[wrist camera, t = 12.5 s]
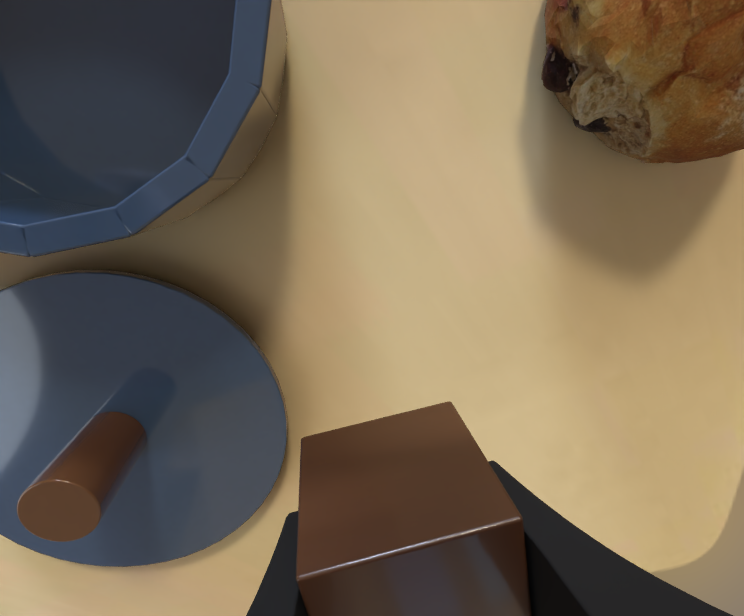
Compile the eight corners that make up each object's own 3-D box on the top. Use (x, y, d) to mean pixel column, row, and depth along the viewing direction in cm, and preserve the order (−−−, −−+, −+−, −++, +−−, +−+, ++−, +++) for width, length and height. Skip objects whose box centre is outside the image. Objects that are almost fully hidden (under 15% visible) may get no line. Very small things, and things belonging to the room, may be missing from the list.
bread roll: (654, 155, 21) (904, 129, 15) (521, 189, 16) (806, 173, 10) (666, -87, 18) (993, -258, 11) (506, -133, 13) (914, -477, 7)
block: (334, 552, 13) (344, 727, 9) (300, 436, 12) (294, 580, 8) (468, 516, 13) (537, 669, 9) (450, 399, 12) (524, 517, 8)
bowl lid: (24, 574, 20) (-70, 705, 15) (-127, 300, 15) (-331, 358, 10) (313, 511, 21) (314, 613, 16) (248, 239, 16) (222, 265, 12)
